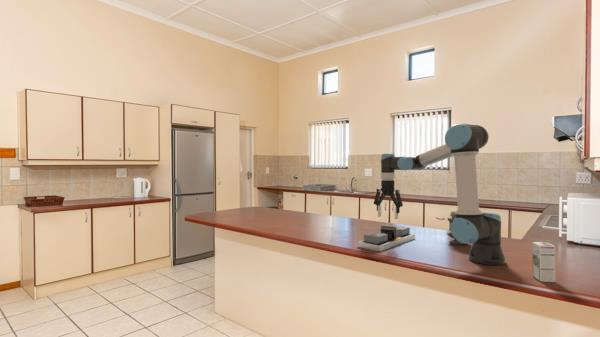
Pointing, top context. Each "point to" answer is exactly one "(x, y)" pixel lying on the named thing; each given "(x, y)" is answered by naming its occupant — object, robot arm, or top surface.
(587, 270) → the top surface
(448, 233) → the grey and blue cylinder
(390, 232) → the electrical switch
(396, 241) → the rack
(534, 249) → the syrup box
